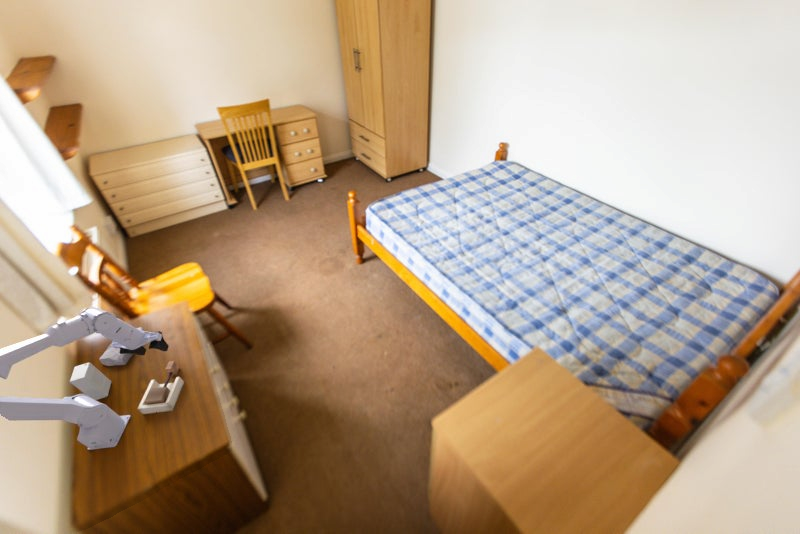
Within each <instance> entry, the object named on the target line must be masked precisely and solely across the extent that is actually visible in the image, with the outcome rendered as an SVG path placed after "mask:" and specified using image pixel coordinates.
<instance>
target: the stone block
mask: <svg viewBox="0 0 800 534" xmlns="http://www.w3.org/2000/svg"><path fill="white" fill-rule="evenodd" d="M112 343H113V341H112V342H111V343H110V344H109V345H108V347H107V348H106V350H105V351H104V352H103V354H102V355H101V356H100V357H99V361H100V363H101V364H102V365H104V366H108V367H111V366H125V365H126V364H127V363H128V362H129V360H131V357H132V356H133V355H134V354H120V353H119V352H120V348H117V349H115V348H113V347H111V345H112Z"/></svg>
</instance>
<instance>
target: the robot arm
mask: <svg viewBox="0 0 800 534" xmlns="http://www.w3.org/2000/svg"><path fill="white" fill-rule="evenodd" d="M143 329H144V328H143V327H141V326H140V327H135V326H133V325H131V324H130V323H128V322H125V321H124V320H122V319H121V318H117V316H116V314H115V313H112V312H109V311H106V310H104V309H102V308H99V307H93V306H92V307H87V308H84V309H83V310H81V312H79V313H78V315H77V316H74V317H72V318H68V319H67V320H59V321H56V323H55V324H53V325H51V326H49V327H47V329H46V331H45V333H43V334H41V335H37V336H35V337H32V338H31V337H30V338H29V339H26V340H23V341H20V342H17V343H14V344H11V345H8V346H5V347H2V348H0V378H2V379H4V380H6V379H8V376H9V374H10V372H11V369H12V367H13V366H14V365H16V364H17V363H19V362H22V361H24V360H26V359H28V358H30V357H32V356H34V355H36V354H38V353H40V352H43V351H45V350H47V349H49V348H51V347H59V348H62V347H65V346H67V345H69V344H72V343H74V342H76V341H79V340H82V339H83V338H86V337H89V336H91V335H92V334H94V333H96V334H99V335H100V334H101V336H103V337H105V338H107V339H109V340H110V341H112V342H113V343H112V342H111V343H112V345H111V347H113V348H115V349H117V348H120V352H119V353H120V354H133V355H137V356H145V355H146V352H147V348H146V347H145V345H146V344H149V346H148V349H149V350H151V349H153V350H154V349H155V350H159V351H161V352H168V349H169V344H168V343H167V342H166V340H165V339H164V336H163V332H162V331H159V330H158V331H154V332H152V331H145V330H143ZM0 414H1V416H3V417H5V418H6V419H8V420H9V421H63V422H68V423H72V424H76V425H77V426H78V427H79V432H78V435H77V438H76V439H77V441H78V442H79V443H80V444H82V445H84V446H85V447H86V448H87V450H88V451H89V450H91V451H92V450H99V449H107V448H115V447H116V446H117V445H118V444H119V441H120V439H121V437H122V435H123V434H124V431H125V429H126V427H127V425H128V422H129V421H130V419H131V417H132V416H131V415H130V414H126V415H119V414H117V413H116V411H114V410H113V409H111V408H110V407H109V406H108V405H107V404H105V403H102V402H100V401H98V400H94V399H92V398H90V397H89V396H88V395H86V394H84V393H78V394H74V395H72V396H64V397H63V398H48V397H46V398H44V397H43V398H42V397H25V396H23V397H21V396H19V397H18V396H2V395H1V396H0Z"/></svg>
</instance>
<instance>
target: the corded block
mask: <svg viewBox="0 0 800 534" xmlns="http://www.w3.org/2000/svg"><path fill="white" fill-rule="evenodd" d="M179 369H180V366H179V365H178V364H177V363H176V361H175V360H172V361H171V360H169V361H168V363H167V364H166V367H165V371H166V372H167V373H168V375H167V378H166V380H165V383H163V384H164V387H161V388H152V389H150V391H149V393H148V395H147V397H146V399H145V401H144V402H145V403H146V404H147V405H150V404H159V403H165V402H166V400H167V398H168V395H169V393H170V390H169V389H168V388H167V384H168V383H170V380H171V377H172V376H177V374H178V372H179Z"/></svg>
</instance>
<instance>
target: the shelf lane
mask: <svg viewBox="0 0 800 534" xmlns="http://www.w3.org/2000/svg"><path fill="white" fill-rule="evenodd" d="M174 379H175V380H174V382H168V384H167V388H168V389H169V390H170V393H169V395H168V398H167V400H166V402H165V403H159V404H150V405H147V404H146V403H145V402H144V401H145V399H146V397H147V395H148V393H149V391H150V389H152V388H161V387H164V384H165V383H159V382H157V381H156V379H151V380H150V382H149V383H148V386H147V387H146V388H147V389H146V390H145V392H144V394H143V397H142V399H141V401H140V402H139V405H138V407H137V410H138V411H139V412H140V413H141V414H143V415H147V414H157V413H165V412H173V411H174V409H175V406H176V403H177V401H178V399H179V397H180V394H181V392H182V389H183V386H184V384H185V381H184V380H183V379H182V378H181V377H180V376H176V378H174ZM156 412H157V413H156Z"/></svg>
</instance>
